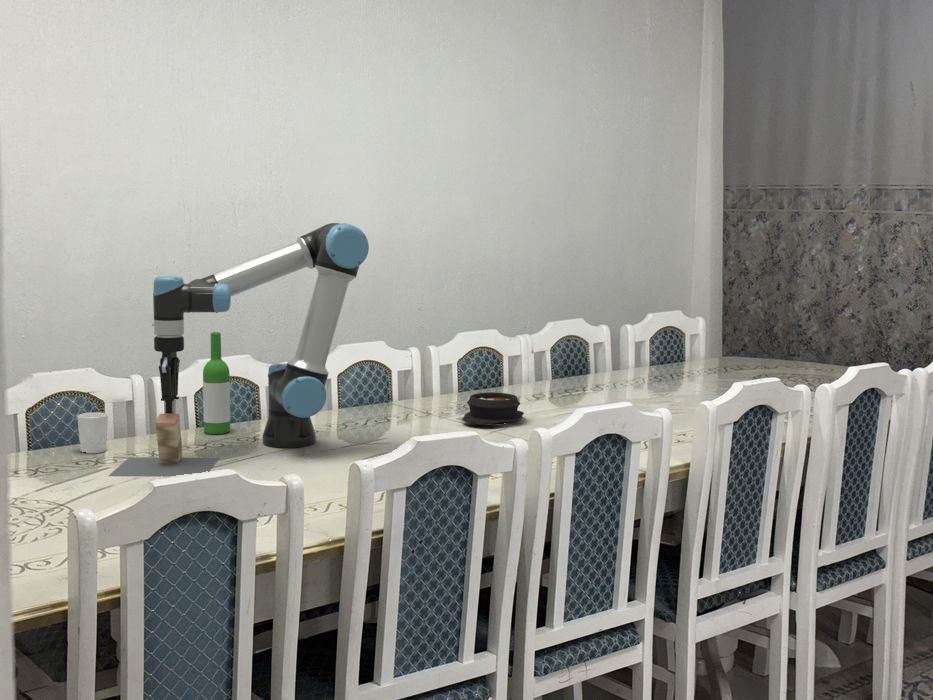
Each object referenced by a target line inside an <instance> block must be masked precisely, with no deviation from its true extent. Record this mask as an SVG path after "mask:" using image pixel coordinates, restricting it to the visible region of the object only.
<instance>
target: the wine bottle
mask: <svg viewBox="0 0 933 700" xmlns="http://www.w3.org/2000/svg"><path fill="white" fill-rule="evenodd" d="M221 336H222V334H221V332H217V331H213V332H210V360H208V361H207V362H206V364H205V365H204V367H203V369H202V397H203V398H202V401H203V402H202V403H203V413H202V414H203V430H204V433H206V434H208V435H224V433H225V434H227V432H228V433H229V432H230V431H231V389H230V388H231V386H230V385H231V384H230V382H231V380H230V379H231V378H230V368H229V366H228V365H227V363H226V362H225V360H223V359H222V338H221Z"/></svg>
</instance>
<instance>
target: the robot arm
mask: <svg viewBox="0 0 933 700" xmlns="http://www.w3.org/2000/svg"><path fill="white" fill-rule="evenodd" d="M369 247H370V246H369V241H368V238H367V236H366V234H365V233H364V232H363V230H362V229H361V228H359V227H358V226H355V225H353V224H351V223H345V222H342V223H340V222H331V223H327V224H325V225H322V226H320V227H318V228H316V229H314V230H312V231H310V232H308V233H306V234H303V235H301V236H298V237H297V239H296V241H295V242H293V243H290V244H287V245H285V246H282V247H280V248H277V249H275V250H273V251H269V252H268V253H264V254H261V255H259V256H256V257H254V258H251V259H249V260H247V261H244V262H241V263H239V264H236V265H233V266H231V267H228V268H225V269H223V270H221V271H219V272H218V271H217V272H215V273H213V274H210V275H208V276H205V277H203V278H195V279H193V280H191V281H188V283H185V281H184V279H183V277H182V276H179V275H178V276H177V275H176V276H173V275H163V276H162V275H160V276H157V277H155V278H154V280H153V289H152V290H153V293H152V296H153V297H152V298H153V299H152V300H153V322H152V324H151V326H152V327H153V334H154V335H155V336H154V337H153V345H154V346H153V349H154V351H155V352H158V353H159V352H161V358H160V359H159V363H160V364H159V365H158V371H159V375H160V376H159V379H160V388H161V389H160V392H161V398H160V401H162V402H163V407H164V412H163V414H177V400H180V396H178V395H179V375H180V374H179V371H180V370H179V369H180V361H181V360H180V358H179V357H178V355H177V353H178V352H182V351H183V350H185V337H184V336H183V335H184V334H185V322H184V321H185V317H184V315H185V313H188V314H190V313H215V314H218V313H224V312H228V311H230V308H231V299H232V297H233V296H236V295H238V294H240V293H243V292H246V291H249V290H251V289H253V288H257V287H259V286H261V285H264V284H267V283H270V282H272V281H274V280H277V279H279V278H282V277H285V276H287V275H290V274H292V273H295V272H297V271H300V270H302V269H304V268H308V269H310V270H313V269H316V271H317V274H318V275H317V278H316V282H315V285H314V287H313V288H314V289H313V292H312V296H311V299H310V303H309V306H308V309H307V313H306V317H305V320H304V323H303V327H302V330H301V334H300V338H299V342H298V344H297V348H296V352H295V355H294V357H293V358H292V359H290V360H288V361H287V363H273V364H271V365H269V367H268V370H267V371H268V373H267V378H268V379H267V380H268V385H267V386H268V393H267V394H268V416H267V421H266V424H265V427H264V430H263V433H262V445H265V446H268V447H272V448H273V447H274V448H282V449H283V448H286V449H287V448H289V449H290V448H291V449H292V448H301V447H307V446H311V445H314V444H315V443H316V442H317V434H316V431H315V429H314V425H313V421H312V419H311V418H312V417H313V416H315V415H317V414H318V413H319V412H321V410H322V409H323V408H324V406H325V404H326V402H327V390H326V384H327V380H328V378H329V374H330V373H329V371H328V369H327V368H326V365H327V364H326V363H327V360H328V357H329V353H330V350H331V347H332V343H333V341H334V336H335V332H336V328H337V326H338V321H339V318H340V314H341V311H342V308H343V306H344V301H345V297H346V293H347V291H348V290H347V289H348V287H349V284H350V282H352V281H354V280H355V279H357V275H358V272H359V268H360V266H361V265H362V264H363V263H364V262H365V260H366V259H367V257H368V254H369V251H370V250H369V249H370V248H369Z"/></svg>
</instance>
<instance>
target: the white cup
mask: <svg viewBox="0 0 933 700" xmlns="http://www.w3.org/2000/svg"><path fill="white" fill-rule="evenodd" d="M108 421H109V415H108V413H107V412H85V413H80V414H77V427H78V440H79V445H80V446H79V447H80V452H81V451H82V452H81V453H83V452H86V453H85V454H99V453H104V452H106V451H107V449H108V448H107V447H108V446H107V445H108V442H107V441H108V430H109V429H108V427H109V424H108V423H109V422H108Z"/></svg>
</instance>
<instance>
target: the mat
mask: <svg viewBox="0 0 933 700" xmlns="http://www.w3.org/2000/svg"><path fill="white" fill-rule="evenodd" d="M220 459H221V457H181V459H180V462H179V463H159V456H158V457H154V456H153V457H150V456H148V457H143V456H140V457H139V456H137V457H134V456H132V457H131V456H129V457H128V458H127V459H125V460H124V461H123V462H122V463H121V464H120V465H119V466H118V467H116V468H115V469H114V470H113V471H112V472H111V473H110V474H109V475H108V477H161V476H162V477H166V478H167V477H169V478H170V476H176V475H184V474H192V473H202V472H206V471H211V470H213V468H214V467H215V465H216V464H217V462H218V461H219V460H220Z"/></svg>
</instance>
